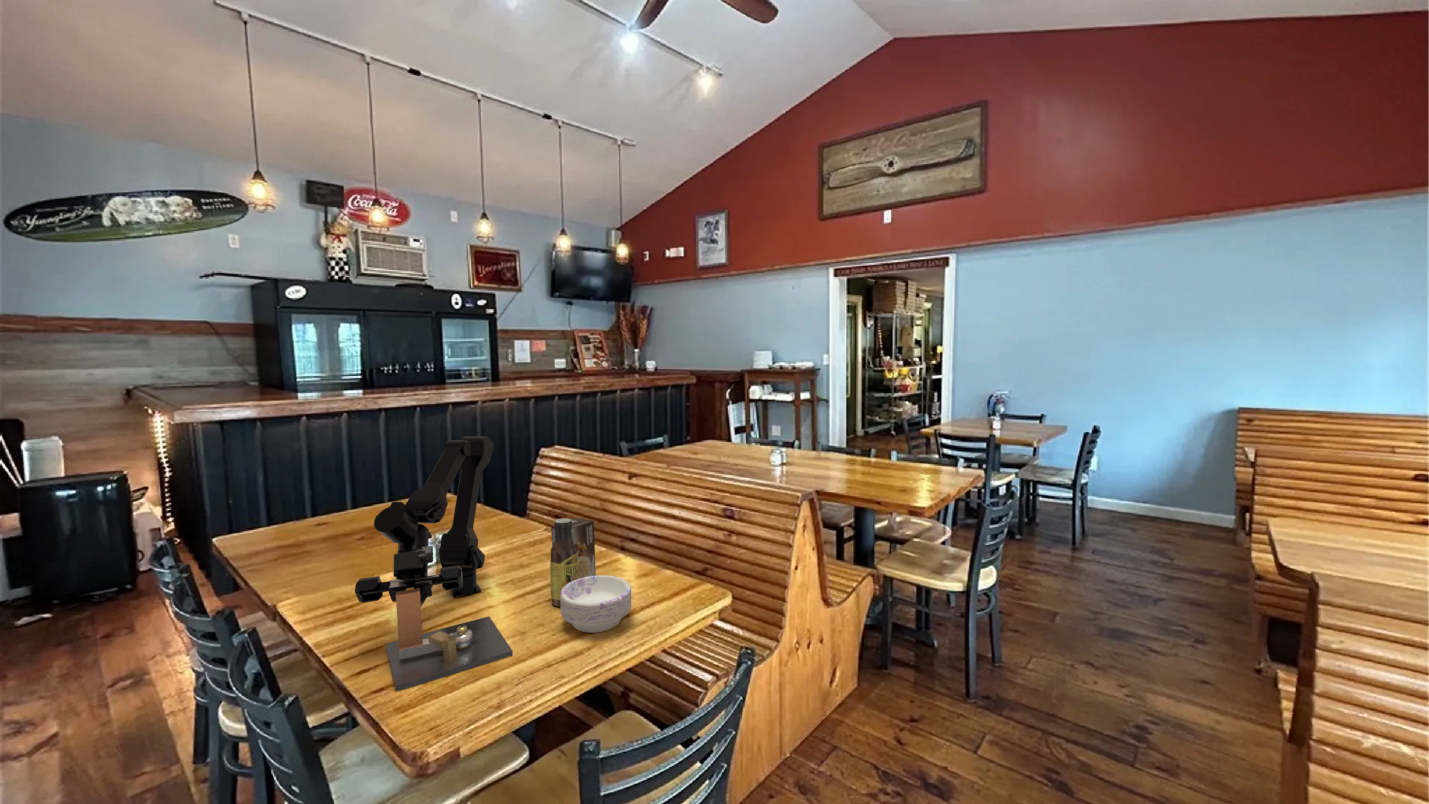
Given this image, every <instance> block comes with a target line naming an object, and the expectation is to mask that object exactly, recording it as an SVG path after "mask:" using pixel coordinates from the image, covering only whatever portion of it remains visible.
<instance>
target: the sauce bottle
mask: <svg viewBox="0 0 1429 804" xmlns="http://www.w3.org/2000/svg"><path fill="white" fill-rule="evenodd" d="M571 519H572V518H563V517H562V518H558V519H555V520H554V524H553V525H554V526H555V539H556V540H555V542H554V543H553V545H552V544H551V548H550V560H549V567H550V569H549V570H550V598H551V604H552V606H555V607H559V608H561V605H560V604H561V602H560V593H561V590H562V589H563V587H564V586H565V585H567V584H568V583H570V582H572V581H574V580H577V579H578V566H577V550H576V548H575V545H574V542H573V540H572V535H571V526H572V520H571Z"/></svg>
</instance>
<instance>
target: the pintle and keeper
mask: <svg viewBox="0 0 1429 804" xmlns="http://www.w3.org/2000/svg"><path fill="white" fill-rule="evenodd" d="M466 632H467V626H465V625H462V626H459V627H457V634H459V635H462V634H465V633H466ZM428 637H429V643H431V644H434V645H436V646H439V647H441V648H442V647H443V654H444V661H446V662H449V663H450V662H452V661H454V660H455V659H457V653H456V649H463V648H466V647H468V646H469V645H470V644H469V645H467V646H463V647H456V639H455V638H453V636H452V635H449V634H446V633H444V632H441V631H439V632H437V633H435V634H433V635H430V636H428Z"/></svg>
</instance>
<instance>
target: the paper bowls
mask: <svg viewBox="0 0 1429 804" xmlns="http://www.w3.org/2000/svg"><path fill="white" fill-rule="evenodd" d="M560 602H561V604H560V605H561V607H560V615H561V618H562V620H564V621H565V622H567V623H569V624H571V625H572V626H573V628H574V629H576V630H577V631H579V632H583V633H589V634H590V633H591V634H592V633H601V632H605V631H609V630H611V629H613V628H615V626H617V625H618V624H619V623H620V622H621V620H622V618H623V619H624V617H626V616H627V615H628V614H629V612H630V611H631V608H632V586H631V584H630V583H629V582H628V581H627V580H626V579H624V578H622V577H618V576H614V575H605V574H604V575H597V574H596V576H588V577H584V578H580V579H577V580H574V581H572V582H570V583H568V584H567V585H565V586H564V587H563V589H562V590H561V593H560Z"/></svg>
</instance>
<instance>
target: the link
mask: <svg viewBox="0 0 1429 804" xmlns="http://www.w3.org/2000/svg"><path fill="white" fill-rule="evenodd" d="M395 603H396V619H397V622H396V623H397V637H398V639H397V640H398V641H399V660H400V659H404V658H409V657H413V656H418V655H422V654H426V653H431V652H435V651H440V650H443V647H442V648H441V647H439V646H436V645H434V644H431V643H429V638H428V639H423V637H422V634H423V626H422V624H423V622H422V606H421V600H420V588H416V589H413V588H409V589H407V590H405V591H399V592H396V602H395ZM449 635H452V636H453V638H455V639H456V647H463V646H467V645H469V644H470V643H471V642H472V631H471V630H468V629H467V632H466V633H465V634H462V635H459V634H457V632H455V633H451V634H449Z"/></svg>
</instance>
